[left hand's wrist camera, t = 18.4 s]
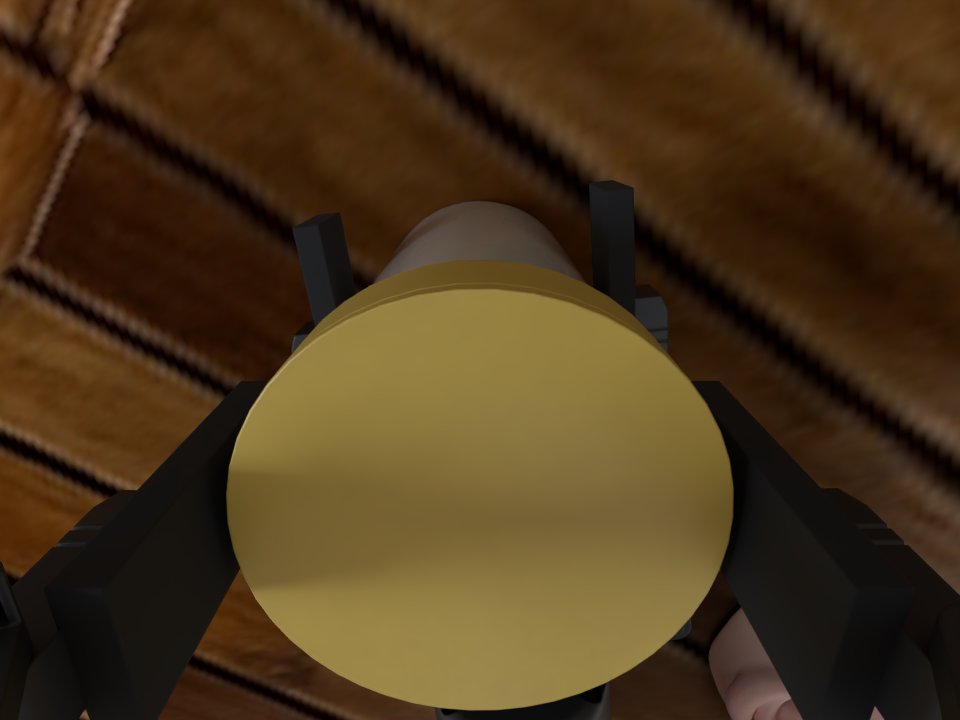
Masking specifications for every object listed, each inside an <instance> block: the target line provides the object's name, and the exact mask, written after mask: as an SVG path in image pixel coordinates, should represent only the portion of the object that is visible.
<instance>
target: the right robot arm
mask: <svg viewBox="0 0 960 720" xmlns="http://www.w3.org/2000/svg"><path fill="white" fill-rule="evenodd" d="M589 191H590V215H591V239H592V263H593V287H594V289H596V290H598V291H599V292H601V293H603V294H605V295H606V296H608V297H610V298H611V299H612V300H614V301H615V302H616V303H618V304H619V305H620V306H622V307H623V308H624V309H625V310H627V311H628V312H629V313H631V314H632V315H633V316H634V317H635V318H636V319H637V320H638V321H639V322H640V323H641V324H642V325H643V326H644V327H645V328H646V329H647V330H648V331H649V332H650V333H651V334H652V335H653V337H654V338H655V339H656V340H657V341H658V343H659V344H660V345H661V346H662V347H663V349H664V350H665V351H666V352H667V353H668V342H667V339H668V329H667V327H668V310H667V308H666V305H665V303H664V301H663V298H662V296H661V295H660V294H659V293H658V292H656V291H655V290H654V289H653V288H652V287H651V286H650V285H642V286H635V253H634V188H632V187H629V186H627V185H624V184H621V183H619V182H616V181H613V180H611V181H602V182H593V183H589ZM292 229H293V233H294V237H295V242H296V246H297V250H298V255H299V259H300V263H301V268H302V272H303V276H304V281H305V285H306V289H307V294H308V298H309V302H310V307H311V311H312V315H313V320H314V321H312V322H306V323H305V324H304V325H303V326H302V327H301V329H300V330H299V331H298V332H297V333H296V334H295V335H294V339H293V345H292V354H293V353H294V351H295V350H296V349H297V348H298V347H299V345H300V344H301V343H302V342H303V341H304V340H305V338H306V337H307V336H308V335H309V334H310V333H311V332H312V331H313V330H314V329H315V327H316V326H317V325H318V324H319V323H320V322H321V321H322V320H323V319H324V318H325V317H326V316H328V315H329V314H330V313H331V312H332V311H334V310H335V309H336V308H337V307H339V306H340V305H341V304H342V303H343V302H345V301H346V300H348V299H349V298H351V297H353V296H354V295H356V291H355V286H354V281H353V276H352V271H351V266H350V260H349V255H348V250H347V245H346V240H345V235H344V230H343V225H342V220H341V215H340V212H339V213H331V214H322V215H317V216H315V217H313V218H311V219H309V220H307V221H305V222H303V223H301V224H299V225H297V226H295V227H293V228H292ZM691 626H692V624H691V619H689V620H688V621H687V622H686V623H685V624H684V625H683V626H682V628H681V629H680V630H679V631H678V632H677V633H676V634H675V635H674V636H673V637H672V638H671V640H676V639H681V638H683V637H685V636H686V635H688V634H689V632H690V631H691ZM435 711H436V716H437V720H611V700H610V681H608V682H606V683H604V684H602V685H599V686H597V687H594V688H592V689H590V690H587V691H585V692H582V693H580V694H576V695H573V696H570V697H567V698H563V699H560V700H557V701H553V702H548V703H543V704H538V705H533V706H528V707H521V708H511V709H502V710H460V709H448V708H439V707H435Z"/></svg>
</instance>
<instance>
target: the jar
mask: <svg viewBox="0 0 960 720" xmlns="http://www.w3.org/2000/svg"><path fill="white" fill-rule="evenodd" d="M457 260H501V261H509V262H518V263H525V264H529V265H533V266H537V267H541V268H545V269H549V270H553V271H556V272H559V273H561V274H564V275H566V276H569V277H571V278H574V279H576V280H579V281H581V282H583V283H585V284H587V282H586V281H585V280H584V278H583V277H582V275H581V274H580V272H579V271H578V270H577V268H576V267H575V265H574V264H573V263H572V261H571V260H570V258H569V257H568V255H567V254H566V253H565V251H564V250H563V248H562V247H561V245H560V244H559V243H558V241H557V240H556V239H555V237H554V236H553V235H552V234H551V232H550V231H549V230H548V229H547V228H546V227H545V226H544V225H543V224H542V223H540V222H539V221H538V220H536V219H535V218H533V217H532V216H531V215H529V214H527V213H525V212H523V211H521V210H519V209H517V208H514V207H512V206H509V205H505V204H501V203H497V202H488V201H470V202H464V203H458V204H455V205H452V206H448V207H445V208H443V209H441V210H439V211H437V212H435V213H433V214H431V215H430V216H428V217H427V218H425V219H424V220H422V221H421V222H420V223H419V224H418V225H417V226H415V227H414V228H413V229H412V230H411V232H410V233H409V234H408V235H407V236H406V237H405V239H404V240H403V241H402V243H401V244H400V246H399V247H398V249H397V250H396V251H395V253H394V254H393V256H392V257H391V259H390V260H389V261H388V263H387V264H386V266H385V267H384V268H383V270H382V271H381V273H380V274H379V276H378V277H377V278H376V280H375V281H374V283H373V284H375V283H378V282H380V281H382V280H384V279H387V278H389V277H391V276H394V275H396V274H398V273H401V272H405V271H408V270H412V269H415V268H419V267H422V266H426V265H430V264H437V263H443V262H450V261H457ZM373 284H372V285H373ZM587 285H588V284H587Z"/></svg>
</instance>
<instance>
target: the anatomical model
mask: <svg viewBox="0 0 960 720" xmlns="http://www.w3.org/2000/svg"><path fill="white" fill-rule="evenodd" d="M709 664H710V668H711V672H712V675H713V678H714V681H715V683H716V686H717V688H718V691H719V693H720V695H721V697H722V699H723V701H724V703H725V705H726V707H727V710H728V713H729V715H730V717H731V719H732V720H803V719H802V717H801V715H800V714H799V712H798V710H797V708H796V706H795V705H794V703H793V701H792V699H791V697H790V695H789V694H788V692H787V690H786V688H785V686H784V684H783V683H782V681H781V679H780V677H779V675H778V673H777V672H776V670H775V668H774V666H773V664H772V663H771V661H770V659H769V657H768V655H767V653H766V652H765V650H764V648H763V646H762V644H761V642H760V641H759V639H758V637H757V635H756V633H755V632H754V630H753V628H752V626H751V624H750V622H749V621H748V619H747V617H746V615H745V613H744V611H743V610H742V608H740V609H739V610H738V611H737V612H736V613H735V614H734V615H733V616H732V617H731V618H730V620H729V621H728V622H727V623H726V625H725V626H724V627H723V628H722V630H721V631H720V632H719V634H718V635H717V636H716V638H715V639H714V641H713V643H712V645H711V648H710V651H709ZM870 720H884V718H883V717H882V716H881V714H880V713H879V711H878V710H877V708H876V707H874V710H873V713H872V716H871V719H870Z"/></svg>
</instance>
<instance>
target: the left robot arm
mask: <svg viewBox="0 0 960 720" xmlns="http://www.w3.org/2000/svg"><path fill="white" fill-rule="evenodd" d="M268 382H269V381H241V382H240V383H239V384H238V385H237V386H236V387H235V388H234V389H233V390H232V391H231V392H230V393H229V395H228V396H227V397H226V398H225V399H224V400H223V401H222V402H221V403H220V404H219V405H218V406H217V407H216V408H215V409H214V410H213V411H212V412H211V413H210V414H209V415H208V417H207V418H206V419H205V420H204V421H203V422H202V423H201V424H200V425H199V426H198V427H197V428H196V429H195V430H194V431H193V432H192V433H191V434H190V435H189V436H188V438H187V439H186V440H185V441H184V442H183V443H182V444H181V445H180V446H179V447H178V448H177V449H176V450H175V451H174V452H173V453H172V454H171V455H170V456H169V457H168V458H167V460H166V461H165V462H164V463H163V464H162V465H161V466H160V467H159V468H158V469H157V470H156V471H155V472H154V473H153V474H152V475H151V476H150V477H149V478H148V479H147V480H146V482H145V483H144V484H143V485H142V486H141V487H140V488H139V489H138V490H122V491H120V492H119V493H117V494H115V495H113V496H112V497H110V498H108V499H107V500H105V501H103V502H102V503H100V504H98V505H97V506H95V507H94V508H93V509H91V510H90V511H89V512H88V513H87V514H86V515H85V516H84V517H83V518H82V519H81V520H80V521H79V522H78V523H77V524H76V525H75V526H74V530H73V531H69V532H68V533H67V534H66V535H65V536H64V537H63V538H62V539H61V540H60V541H59V542H58V543H57V547H53V548H51V549H50V550H49V551H48V552H47V553H46V554H45V555H44V556H43V557H42V558H41V559H40V560H39V561H38V562H37V563H36V564H35V565H34V566H33V567H32V568H31V569H30V570H29V571H28V572H27V573H26V574H25V575H24V576H23V577H22V578H21V579H20V580H19V581H18V582H17V583H16V584H15V585H14V586H12V587H11V585H10V583H9V580H8V577H7V575H6V572H5V570H4V567H3V564H2V562H0V720H78V719H79V717H80V716H81V714H82V713H83V711H84V710H85V708H86V710H87V713H88V716H89V719H90V720H157V719H158V717H159V715H160V714H161V712H162V710H163V708H164V706H165V704H166V703H167V701H168V699H169V697H170V695H171V694H172V692H173V690H174V688H175V686H176V684H177V683H178V681H179V679H180V677H181V675H182V673H183V672H184V670H185V668H186V666H187V664H188V663H189V661H190V659H191V657H192V655H193V653H194V652H195V650H196V648H197V646H198V644H199V642H200V641H201V639H202V637H203V635H204V633H205V632H206V630H207V628H208V626H209V624H210V622H211V621H212V619H213V617H214V615H215V613H216V611H217V610H218V608H219V606H220V604H221V602H222V601H223V599H224V597H225V595H226V593H227V591H228V590H229V588H230V586H231V584H232V582H233V580H234V579H235V577H236V575H237V573H238V571H239V569H240V566H239V563H238V561H237V558H236V555H235V553H234V550H233V546H232V541H231V536H230V532H229V527H228V519H227V501H226V491H227V482H228V472H229V465H230V461H231V458H232V454H233V450H234V447H235V443H236V439H237V437H238V434H239V432H240V430H241V428H242V426H243V423H244V421H245V419H246V417H247V415H248V413H249V410H250V409H251V407H252V406H253V404H254V403H255V401H256V400H257V398H258V397H259V395H260V394H261V392H262V391H263V389H264V388H265V386H266V385H267V383H268ZM691 382H692V384H693V385H694V387H695V388H696V389H697V391H698V392H699V394H700V395H701V396H702V398H703V399H704V400H705V402H706V403H707V405H708V407H709V409H710V411H711V413H712V415H713V417H714V419H715V421H716V423H717V425H718V427H719V429H720V431H721V434H722V437H723V440H724V443H725V446H726V449H727V453H728V456H729V459H730V465H731V472H732V479H733V486H734V502H733V521H732V527H731V532H730V538H729V544H728V547H727V550H726V553H725V556H724V558H723V561H722V564H721V567H720V570H721V571H722V573H723V575H724V577H725V579H726V580H727V582H728V584H729V586H730V588H731V590H732V591H733V593H734V595H735V597H736V599H737V601H738V602H739V604H740V606H741V608H742V610H743V611H744V613H745V615H746V617H747V619H748V621H749V622H750V624H751V626H752V628H753V630H754V632H755V633H756V635H757V637H758V639H759V641H760V642H761V644H762V646H763V648H764V650H765V652H766V653H767V655H768V657H769V659H770V661H771V663H772V664H773V666H774V668H775V670H776V672H777V673H778V675H779V677H780V679H781V681H782V683H783V684H784V686H785V688H786V690H787V692H788V694H789V695H790V697H791V699H792V701H793V703H794V705H795V706H796V708H797V710H798V712H799V714H800V715H801V717H802V719H803V720H870V719H871V716H872V713H873V710H874V707H876V708H877V710H878V711H879V713H880V714H881V716H882V717H883V718H884V720H960V595H959V594H958V593H957V592H956V591H955V590H954V589H953V588H952V587H951V586H950V585H949V584H948V583H946V582H945V581H944V580H943V579H942V578H941V577H940V576H939V575H938V574H937V573H936V572H935V571H934V570H933V569H932V568H931V567H930V566H929V565H928V564H927V563H926V562H925V561H924V560H923V559H922V558H921V557H920V556H919V555H918V554H917V553H915V552H914V551H913V550H912V549H911V548H910V547H909V546H908V545H904V541H903V540H902V539H901V538H900V537H899V536H898V535H897V534H896V533H895V532H894V531H893V530H892V529H888V528H887V524H886V523H885V522H883V521H882V520H881V519H880V518H879V517H878V516H877V515H876V514H875V513H874V512H873V511H872V510H871V509H870V508H869V507H868V506H867V505H866V504H864V503H862V502H860V501H859V500H857V499H855V498H854V497H852V496H850V495H849V494H847V493H845V492H843V491H842V490H840V489H838V488H820V487H819V486H818V485H817V484H816V483H815V482H814V481H813V479H812V478H811V477H810V476H809V475H808V474H807V473H806V472H805V471H804V470H803V469H802V468H801V467H800V466H799V465H798V464H797V463H796V462H795V461H794V460H793V458H792V457H791V456H790V455H789V454H788V453H787V452H786V451H785V450H784V449H783V448H782V447H781V446H780V445H779V444H778V443H777V442H776V441H775V440H774V439H773V438H772V436H771V435H770V434H769V433H768V432H767V431H766V430H765V429H764V428H763V427H762V426H761V425H760V424H759V423H758V422H757V421H756V420H755V419H754V418H753V417H752V415H751V414H750V413H749V412H748V411H747V410H746V409H745V408H744V407H743V406H742V405H741V404H740V403H739V402H738V401H737V400H736V399H735V398H734V397H733V396H732V395H731V393H730V392H729V391H728V390H727V389H726V388H725V387H724V386H723V385H722V384H721V383H720V382H719V381H691Z"/></svg>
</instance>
